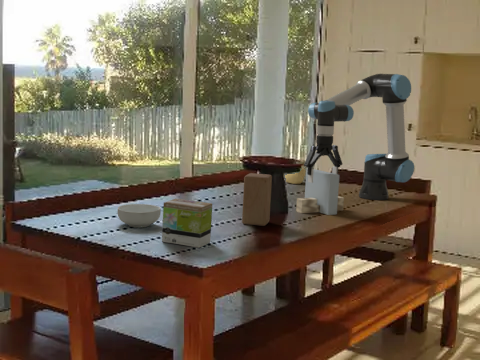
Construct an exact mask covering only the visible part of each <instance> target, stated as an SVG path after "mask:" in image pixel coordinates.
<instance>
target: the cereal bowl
mask: <svg viewBox="0 0 480 360" xmlns="http://www.w3.org/2000/svg"><path fill="white" fill-rule="evenodd" d="M161 210H162V209H161V207H160V206H159V205H154V204H147V203H146V204H145V203H142V204H141V203H133V204H131V203H130V204H123V205H119V206H118V207H117V217H118V219H119V220H120V222H122V223H124V224H126V225H128V226H129V227H131V228H146V227H149V226H150V225H151V224H154V223H156V222H158V220H159V219H160V217H161Z"/></svg>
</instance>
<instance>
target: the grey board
mask: <svg viewBox="0 0 480 360" xmlns="http://www.w3.org/2000/svg"><path fill="white" fill-rule="evenodd" d="M305 170H306V173H305V188H304V189H305V190H304V198H315V199H317V205H320V212H319V213H321V214H324V215H326V216H331V215H332V216H334V215H338V211H337V203H338V196H339V188H340V187H339V186H340V174H339V173H338V174H334V173H332V172H328V171H325V170H319V169H316V168H314V173H313V183H311V182H308V174H307V172H308V171H307V170H308V169H305Z"/></svg>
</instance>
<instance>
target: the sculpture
mask: <svg viewBox="0 0 480 360" xmlns="http://www.w3.org/2000/svg"><path fill="white" fill-rule="evenodd" d="M306 170H307V169H305V168H304V167H302V170H301V171H300V172H299V173H295V174H287V175H285V178H286V181H285V182H286V183H288V184H293V185H300V184H301V183H303V182H304V179H305V178H306Z"/></svg>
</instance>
